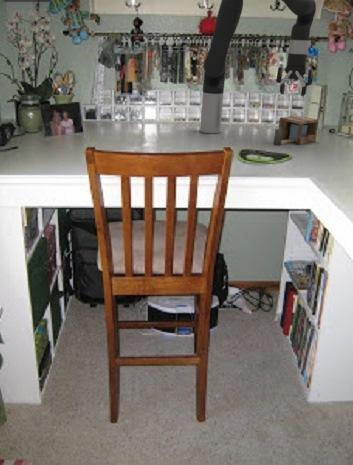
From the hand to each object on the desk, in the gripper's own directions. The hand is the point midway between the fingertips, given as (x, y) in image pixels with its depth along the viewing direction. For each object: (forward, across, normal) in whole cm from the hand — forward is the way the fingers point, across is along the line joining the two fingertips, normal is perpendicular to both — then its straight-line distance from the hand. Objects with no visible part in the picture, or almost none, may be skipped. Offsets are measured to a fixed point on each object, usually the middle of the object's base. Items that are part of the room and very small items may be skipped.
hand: (292, 95), depth 192 cm
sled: (+19, -1, -1) cm, 19 cm away
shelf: (+19, -2, -6) cm, 20 cm away
